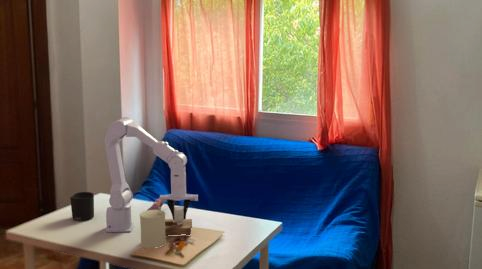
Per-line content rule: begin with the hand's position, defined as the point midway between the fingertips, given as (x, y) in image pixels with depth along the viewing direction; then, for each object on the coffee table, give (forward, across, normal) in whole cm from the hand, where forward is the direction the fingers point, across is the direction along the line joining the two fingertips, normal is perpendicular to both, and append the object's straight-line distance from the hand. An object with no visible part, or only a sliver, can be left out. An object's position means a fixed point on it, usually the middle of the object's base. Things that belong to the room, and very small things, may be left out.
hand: (179, 218), depth 196 cm
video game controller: (+6, -12, +24) cm, 28 cm away
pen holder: (+6, -42, +17) cm, 46 cm away
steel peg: (+6, 0, 0) cm, 6 cm away
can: (+6, -8, -12) cm, 16 cm away
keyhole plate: (+5, -2, 0) cm, 6 cm away
